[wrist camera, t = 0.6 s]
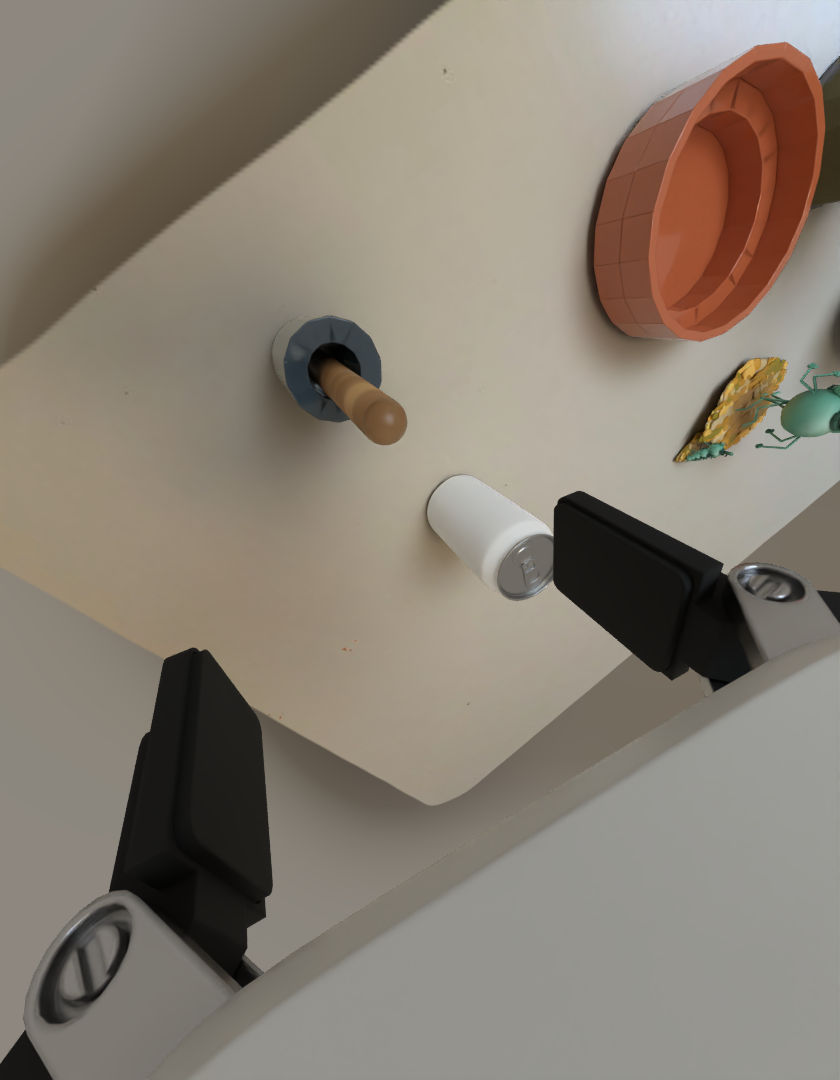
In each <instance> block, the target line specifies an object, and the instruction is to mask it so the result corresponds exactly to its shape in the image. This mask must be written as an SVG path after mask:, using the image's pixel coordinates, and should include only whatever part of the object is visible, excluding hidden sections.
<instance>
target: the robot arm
mask: <svg viewBox="0 0 840 1080" xmlns="http://www.w3.org/2000/svg"><path fill="white" fill-rule="evenodd" d="M722 567H723V563H721V562H719V561H717V560H715V559H713V558H711V557H709V556H708V555H706V554H704V553H702V552H700V551H698V550H696V549H694V548H692V547H690V546H688V545H686V544H684V543H682V542H680V541H678V540H676V539H674V538H672V537H670V536H668V535H667V534H665V533H663V532H661V531H659V530H657V529H655V528H653V527H651V526H649V525H647V524H645V523H643V522H641V521H639V520H637V519H635V518H633V517H631V516H629V515H627V514H626V513H624V512H622V511H620V510H618V509H616V508H614V507H612V506H610V505H608V504H606V503H604V502H602V501H600V500H598V499H596V498H594V497H592V496H590V495H588V494H586V493H585V492H582V491H576V492H574V493H572V494H569V495H567V496H564V497H562V498H560V499H559V500H558V503H557V505H556V506H555V508H554V541H553V581H554V584H555V586H556V587H557V589H558V590H559V591H560V592H562V593H563V594H564V595H565V596H566V597H567V598H569V599H570V600H571V601H572V602H573V603H574V604H576V605H577V606H578V607H579V608H580V609H582V610H583V611H584V612H585V613H586V614H587V615H589V616H590V617H591V618H592V619H593V620H594V621H596V622H597V623H598V624H599V625H600V626H602V627H603V628H604V629H605V630H606V631H607V632H609V633H610V634H611V635H612V636H613V637H614V638H616V639H617V640H618V641H619V642H620V643H622V644H623V645H624V646H625V647H626V648H627V649H629V650H630V651H631V652H632V653H633V654H635V655H636V656H637V657H638V658H639V659H640V660H642V661H643V662H644V663H645V664H646V665H648V666H649V667H650V668H652V669H653V670H654V671H657V672H662V673H663V674H664V675H666V676H667V677H668V678H669V679H670V680H674V679H675V678H677V677H678V676H680V675H682V674H684V673H686V672H687V671H688V670H689V667H690V668H692V669H693V670H694V671H695V672H697V673H698V676H699V680H700V683H701V686H702V689H703V693H704V697H705V698H704V699H702V700H701V701H699V702H697V703H696V704H694V705H692V706H691V707H689V708H687V709H686V710H684V711H682V712H681V713H679V714H677V715H676V716H674V717H672V718H671V719H669V720H667V721H666V722H664V723H662V724H661V725H659V726H657V727H656V728H654V729H653V730H651V731H649V732H648V733H646V734H645V735H643V736H641V737H639V738H638V739H636V740H634V741H633V742H631V743H630V744H628V745H626V746H624V747H623V748H621V749H620V750H618V751H616V752H615V753H613V754H611V755H610V756H608V757H607V758H605V759H603V760H601V761H600V762H598V763H597V764H595V765H593V766H592V767H590V768H588V769H587V770H585V771H583V772H582V773H580V774H579V775H577V776H575V777H574V778H572V779H570V780H569V781H567V782H565V783H564V784H562V785H561V786H559V787H557V788H556V789H554V790H552V791H551V792H549V793H547V794H546V795H544V796H543V797H541V798H539V799H538V800H536V801H535V802H533V803H531V804H529V805H528V806H526V807H525V808H523V809H521V810H520V811H518V812H516V813H515V814H513V815H511V816H510V817H508V818H507V819H505V820H504V821H502V822H500V823H498V824H497V825H495V826H494V827H492V828H490V829H489V830H487V831H486V832H484V833H482V834H481V835H479V836H478V837H476V838H474V839H473V840H471V841H469V842H468V843H466V844H464V845H463V846H461V847H460V848H458V849H457V850H455V851H453V852H452V853H450V854H448V855H447V856H445V857H444V858H442V859H440V860H439V861H437V862H435V863H434V864H432V865H431V866H429V867H427V868H426V869H424V870H423V871H421V872H419V873H418V874H416V875H414V876H413V877H411V878H410V879H408V880H406V881H405V882H403V883H401V884H400V885H398V886H396V887H395V888H393V889H392V890H390V891H388V892H387V893H385V894H384V895H382V896H380V897H379V898H377V899H376V900H374V901H373V902H371V903H369V904H368V905H366V906H365V907H363V908H362V909H360V910H359V911H357V912H355V913H354V914H352V915H351V916H349V917H348V918H346V919H345V920H343V921H341V922H340V923H338V924H337V925H335V926H334V927H332V928H330V929H329V930H327V931H326V932H324V933H323V934H321V935H320V936H318V937H317V938H315V939H314V940H312V941H310V942H309V943H307V944H306V945H304V946H302V947H301V948H299V949H298V950H296V951H295V952H293V953H292V954H290V955H289V956H287V957H286V958H285V959H283V960H282V961H280V962H279V963H277V964H276V965H275V966H273V967H272V968H271V969H269V970H268V971H266V972H265V973H264V972H263V971H262V970H261V969H260V968H258V967H257V966H256V965H255V964H254V963H253V962H252V961H251V960H250V959H249V958H248V957H246V955H244V953H245V951H246V949H247V928H248V927H250V926H251V925H253V924H255V923H256V922H258V921H260V920H262V919H263V918H265V917H266V909H265V897H267V896H269V895H270V894H271V892H272V886H273V882H272V881H273V880H272V867H271V853H270V840H269V827H268V812H267V799H266V785H265V772H264V758H263V746H262V731H261V726H260V723H259V720H258V717H257V716H256V714H255V713H254V711H253V710H252V709H251V707H250V706H249V705H248V703H247V702H246V701H245V699H244V698H243V697H242V695H241V694H240V692H239V691H238V690H237V688H236V687H235V686H234V684H233V683H232V682H231V680H230V679H229V678H228V676H227V675H226V674H225V672H224V671H223V670H222V668H221V667H220V666H219V664H218V663H217V662H216V660H215V659H214V658H213V656H212V655H211V653H210V652H209V651H208V650H203V651H199V650H198V649H196V648H190V649H188V650H185V651H183V652H180V653H178V654H175V655H173V656H170V657H168V658H166V659H165V660H164V663H163V667H162V672H161V677H160V683H159V688H158V693H157V698H156V703H155V709H154V714H153V719H152V724H151V730H150V732H148V733H146V734H145V736H144V737H143V738H142V740H141V744H140V746H139V751H138V755H137V760H136V765H135V770H134V775H133V780H132V784H131V789H130V794H129V799H128V803H127V808H126V813H125V818H124V822H123V827H122V832H121V837H120V841H119V846H118V851H117V856H116V861H115V865H114V870H113V875H112V880H111V885H110V889H109V893H108V894H105V895H103V896H101V897H98V898H97V899H95V900H94V901H92V902H91V903H90V904H88V905H87V906H86V907H84V908H83V909H82V910H80V911H79V912H78V913H77V914H76V915H75V916H74V917H73V918H72V919H71V920H70V921H69V922H68V923H67V924H66V926H65V927H64V928H63V929H62V930H61V932H60V933H59V934H58V935H57V937H56V938H55V940H54V941H53V942H52V944H51V945H50V946H49V948H48V949H47V951H46V953H45V954H44V956H43V958H42V960H41V962H40V963H39V966H38V967H37V969H36V971H35V973H34V975H33V978H32V981H31V984H30V987H29V989H28V992H27V995H26V999H25V1008H24V1016H23V1020H24V1024H25V1028H26V1030H25V1031H24V1032H23V1034H22V1035H21V1036H20V1038H19V1039H18V1041H17V1042H16V1043H15V1045H14V1046H13V1047H12V1049H11V1050H10V1051H9V1053H8V1054H7V1055H6V1057H5V1058H4V1059H3V1061H2V1062H1V1064H0V1080H840V593H837V592H828V591H818V590H816V589H815V588H814V586H813V585H812V584H811V583H810V582H809V581H808V580H807V579H806V578H804V577H803V576H801V575H800V574H798V573H796V572H794V571H792V570H789V569H787V568H784V567H781V566H777V565H773V564H768V563H759V562H756V563H745V564H740V565H737V566H735V567H734V568H732V569H731V571H730V573H729V575H728V576H727V575H725V574H723V573H722V572H721V570H722Z"/></svg>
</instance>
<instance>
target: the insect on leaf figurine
mask: <svg viewBox="0 0 840 1080" xmlns="http://www.w3.org/2000/svg"><path fill="white" fill-rule="evenodd" d="M785 361H786V360H782V361H781V362H780V359H779V358H778V357H775V358H774V357H771V358H766V359H761V360H760V358H755V359H751V360H749V361H748V362H747V363H746V364H745V365H744V366H743V367H742V368H741V369H739V370H738V372H737V373H736V376H735V377H734V379H733V380H731V381H730V382H729V384H728V385H727V386H726V388H725V391H723V392H722V394H721V397H720V400H719V402H718V407H717V408H715V410H713V411H712V413H711V415H710V416H709V417H708V422H707V423H706V424H705V431H703V432H702V433H700V432H699V433H698V434H697V433H696V434H695V437H694V439H693V440H692V441H691V442H690V443H689V444H687V445H686V446H685V447H684V449H683V450H682V451H681V452H680V454H679V456H678V457H677V459H676V462H677V461H678V462H684V461H686V460H687V461H697V460H698V461H699V460H701V459H702V458H703V460H704V459H707V458H710V457H711V458H712V457H713V458H716V457H717V456H719V455H724V454H726V456H727V455H731V456H732V455H733V453H731V452H727V451H725V450H726V449H728V448H729V447H731V446H732V445H735V444H737V443H738V442H739V441H740V440H741V438H743V437H745V436H746V435H747V434H748V433H750V432H751V431H752V430H753V429H754V428H755V427H756V426H757V423H760V422H761V421H762V420H763V417H764V416H765V415H766V411H767V409H768V408H769V407H772V406H777V405H779V406H780V407H782V408H783V409H782V412H781V425H782V427H783V428H784V429H785V430H786V431H788V432H789V433H791V434H793V435H795V436H792V437H790V438H787V439H784V440H781V439H779V438H778V437H777V436H775V435H774V434H773V433H772V432H774V429H772V430H771V429H767V430H766V431H765V433H770V434H771V435H772V436H774V437H775V438H776V439H777V440H778V441H780V442H783V441H786V440H789V439H792V438H795V437H797V436H798V437H797V438H796V439H795V440H794V441H793V442H791V443H790V444H789V445H788V446H787V447H786V448H785V447H772V446H763V444H757V445H756V446H755V447H756V448H761V447H765V448H778V449H787V448H789V447H790V446H791V445H792V444H793V443H794V442H796V441H797V440H798V439H799V438H800V437H817V436H821V435H824V434H827V433H829V432H832V433H840V385H834V386H833V385H832V386H831V387H828V388H827V389H817V384H816V377H822V376H830V375H834V376H835V377H839V376H840V371H833V372H832V373H831V374H823V375H815V376H813V383H814V389H812V388H811V387H810V386H808V385H807V384H806V383H805V382H804V381H802V380H803V379H804V378H805V376H806V375H807V374H808V373H809V371H810V370H811V369H816V368H818V365H816V364H815V363H811V364H809V365H808V366H807V367H808V368H809V370H808V371H807V372H806V373H805V375H804V376H803V377H802V378H801V379H800V382H801V383H802V384H803V385H804V386H805V387H807V388H808V389H809V390H808V391H805V392H803V393H800V394H798V395H796V396H795V397H793V398H792V399H791V400H790V401H788V400H783V399H781V398H779V397H777V396H775V395H776V394H778V393H780V392H776V393H774V392H773V391H775V390H777V389H778V388H779V384H780V383H781V382H782V381H783V380H784V376H785V374H786V373H787V372H786V370H787V369H785V368H786V366H787V364H788V362H785ZM835 386H836V387H835ZM834 387H835V388H834ZM773 397H774V398H776V399H773ZM776 401H778V402H776ZM779 402H781V403H779ZM771 403H775V404H771ZM782 404H786V406H783V405H782ZM710 441H711V445H709V442H710ZM702 442H704V443H706V442H708V445H709V446H708V448H702V449H701V445H702V444H701V443H702ZM700 444H701V445H700ZM706 444H707V443H706ZM726 456H725V457H726ZM711 458H710V459H711ZM687 461H686V462H687Z"/></svg>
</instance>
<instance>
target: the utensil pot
mask: <svg viewBox="0 0 840 1080" xmlns="http://www.w3.org/2000/svg"><path fill="white" fill-rule="evenodd" d="M318 348H319V349H321V350H322V351H324V352H325V353H327V354H328V355H330V356H331V357H333V358H334V359H336V360H337V361H338V362H340V363H341V364H343V365H344V366H346V367H347V368H349V369H350V370H351V371H353V372H354V373H356V374H357V375H359V376H360V377H362V378H363V379H364V380H366V381H367V382H369V383H370V384H372V385H373V386H375V387H376V388H378V389H379V387H380V385H381V360H380V356H379V354H378V352H377V350H376V348H375V345H374V343H373V341H372V339H371V337H370V336H369V335H368V334H366V333H365V332H364V331H363V330H362V329H361V328H360V327H359V326H358V325H356V324H355V323H354V322H352V321H349V320H346V319H342V318H339V317H335V316H305V317H300V318H296V319H293V320H290V321H289V322H287V323H286V324H285V325H284V326H283V327H282V328H281V329H280V330H279V331H278V333H277V335H276V336H275V339H274V342H273V346H272V361H273V366H274V369H275V372H276V374H277V376H278V377H279V379H280V380H281V382H282V383H283V385H284V387H285V388H286V389H287V391H288V392H289V393H290V395H291V396H292V397H293V399H294V400H295V401H296V403H297V404H298V405H299V406H300V407H301V408H302V409H304V410H305V411H306V412H308V413H309V414H311V415H312V416H314V417H315V418H317V419H319V420H325V421H331V422H338V423H339V422H343V421H346V420H350V418H349V417H348V416H347V415H346V414H345V413H344V412H343V411H342V410H341V409H340V408H339V407H338V406H337V405H336V403H335V402H334V401H333V400H332V399H331V398H330V397H329V396H328V395H327V394H326V393H325V392H324V391H323V390H322V389H321V388H320V386H319V385H318V384H317V383H316V382H315V381H314V380H313V379H312V378H311V377H310V376H309V374H308V364H309V361H310V358H311V355H312V353H313V352H315V351H316V350H317V349H318Z"/></svg>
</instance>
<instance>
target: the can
mask: <svg viewBox="0 0 840 1080" xmlns="http://www.w3.org/2000/svg"><path fill="white" fill-rule="evenodd" d="M427 516H428V521H429V523H430V525H431V527H432V528H433V530H434V531H435V532H436V533H437V534H438V535H439V536H440V537H441V539H442V540H443V541H444V542H445V543H446V544H447V545H448V546H449V547H450V548H451V549H452V550H453V551H454V552H455V554H456V555H457V556H458V557H459V558H460V559H461V560H462V561H463V562H464V563H465V564H466V565H467V566H468V567H469V568H470V569H471V570H472V572H473V573H474V574H475V575H476V576H477V577H478V578H479V579H480V580H481V581H482V582H483V583H484V584H485V585H486V586H487V587H488V588H490V589H491V590H492V591H494V592H497V593H500V594H502V595H503V596H504V597H506V598H507V599H510V600H515V601H519V600H525V599H528V598H531V597H533V596H535V595H537V594H538V593H540V592H541V591H542V590H544V589H545V588H546V587H547V586H548V585H549V584H550V583H551V581H552V580H553V541H554V537H553V535H552V532H551V531H550V529H549V528H548V527H547V526H546V525H545V524H544V523H543V522H541V521H540V520H539V519H537V518H536V517H534V516H533V515H531V514H530V513H528V512H527V511H525V510H524V509H522V508H521V507H519V506H518V505H516V504H515V503H513V502H512V501H510V500H509V499H507V498H506V497H504V496H503V495H501V494H500V493H498V492H497V491H495V490H494V489H492V488H491V487H489V486H488V485H486V484H484V483H483V482H481V481H480V480H478V479H477V478H475V477H472V476H469V475H458V476H454V477H451V478H449V479H447V480H446V481H445V482H443V483H442V484H441V485H440V486H439V487H438V488H437V489H436V490H435V491H434V493H433V494H432V496H431V498H430V501H429V504H428V509H427Z"/></svg>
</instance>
